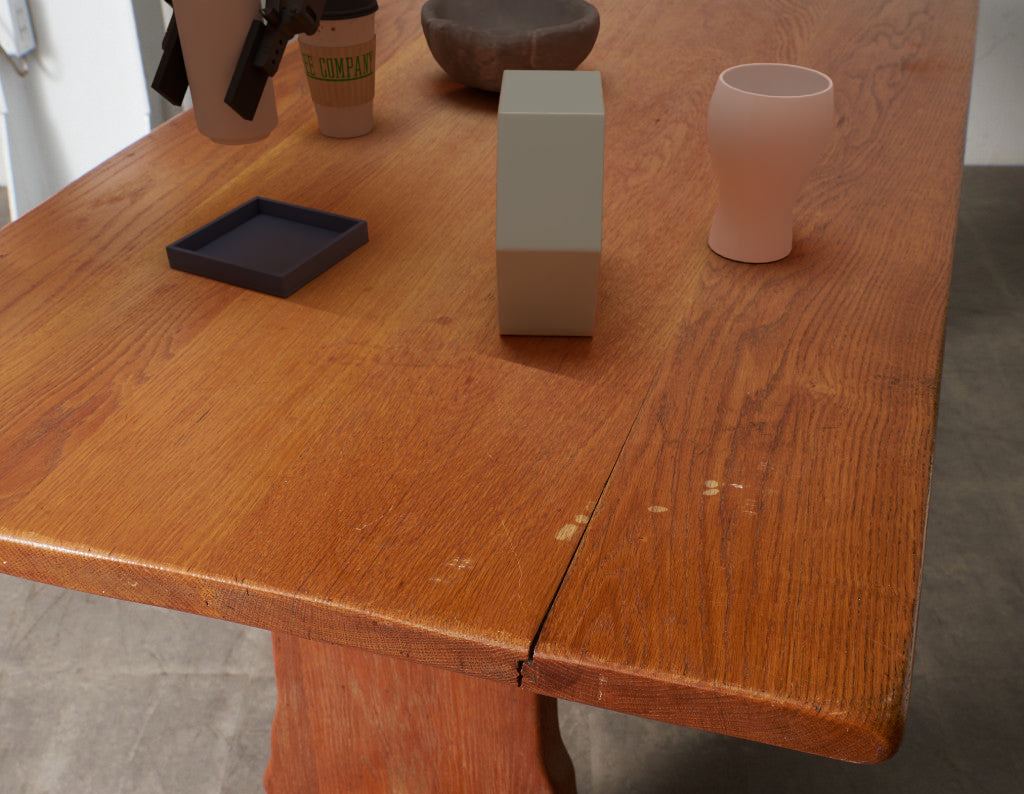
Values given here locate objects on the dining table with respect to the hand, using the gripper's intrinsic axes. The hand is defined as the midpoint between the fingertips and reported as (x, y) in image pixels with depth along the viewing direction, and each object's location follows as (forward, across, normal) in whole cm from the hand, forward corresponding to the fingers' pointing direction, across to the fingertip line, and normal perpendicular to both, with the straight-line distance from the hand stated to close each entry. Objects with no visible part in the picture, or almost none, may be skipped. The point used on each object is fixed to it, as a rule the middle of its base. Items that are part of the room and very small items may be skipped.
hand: (201, 103), depth 77 cm
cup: (-10, -36, -33) cm, 50 cm away
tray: (+6, +3, -17) cm, 18 cm away
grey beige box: (+4, -24, -20) cm, 31 cm away
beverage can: (0, 0, -5) cm, 5 cm away
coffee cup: (-16, +16, -39) cm, 45 cm away
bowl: (-32, +6, -56) cm, 65 cm away
